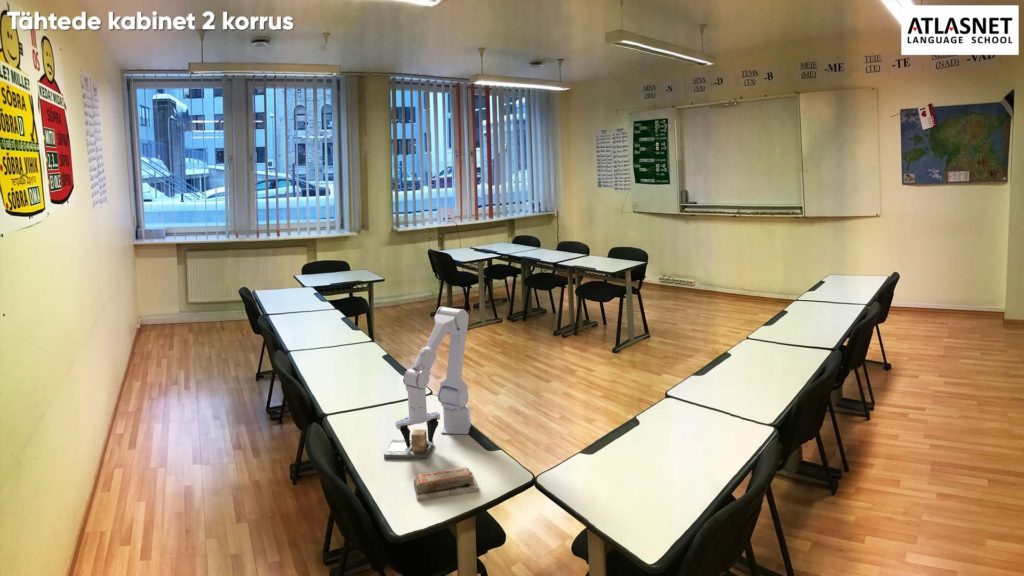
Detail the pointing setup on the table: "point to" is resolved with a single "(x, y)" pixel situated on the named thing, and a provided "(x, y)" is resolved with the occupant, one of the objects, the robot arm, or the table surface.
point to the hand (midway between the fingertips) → (419, 443)
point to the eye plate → (405, 451)
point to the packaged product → (444, 484)
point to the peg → (419, 440)
